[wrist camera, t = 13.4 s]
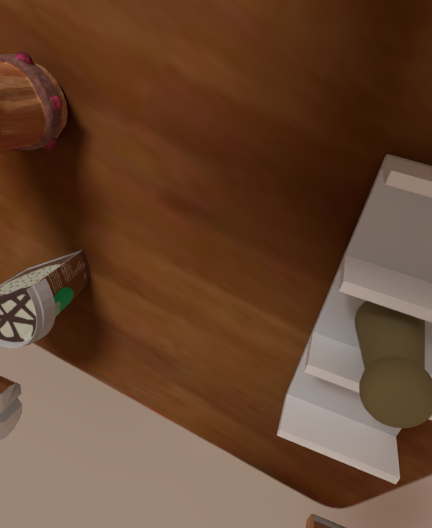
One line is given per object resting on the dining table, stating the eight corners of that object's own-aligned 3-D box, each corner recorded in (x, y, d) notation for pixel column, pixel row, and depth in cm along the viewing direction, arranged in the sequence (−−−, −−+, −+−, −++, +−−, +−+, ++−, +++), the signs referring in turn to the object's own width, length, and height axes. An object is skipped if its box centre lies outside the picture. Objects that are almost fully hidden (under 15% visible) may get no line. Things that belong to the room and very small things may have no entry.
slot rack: (386, 153, 32) (391, 170, 27) (546, 197, 30) (585, 224, 25) (285, 393, 46) (276, 435, 41) (391, 435, 44) (395, 484, 39)
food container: (44, 311, 53) (-17, 360, 44) (19, 271, 51) (-49, 312, 42) (117, 292, 47) (63, 342, 39) (92, 246, 45) (30, 288, 37)
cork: (420, 289, 35) (442, 372, 26) (429, 346, 37) (453, 442, 28) (348, 298, 37) (344, 377, 28) (360, 351, 39) (361, 441, 30)
